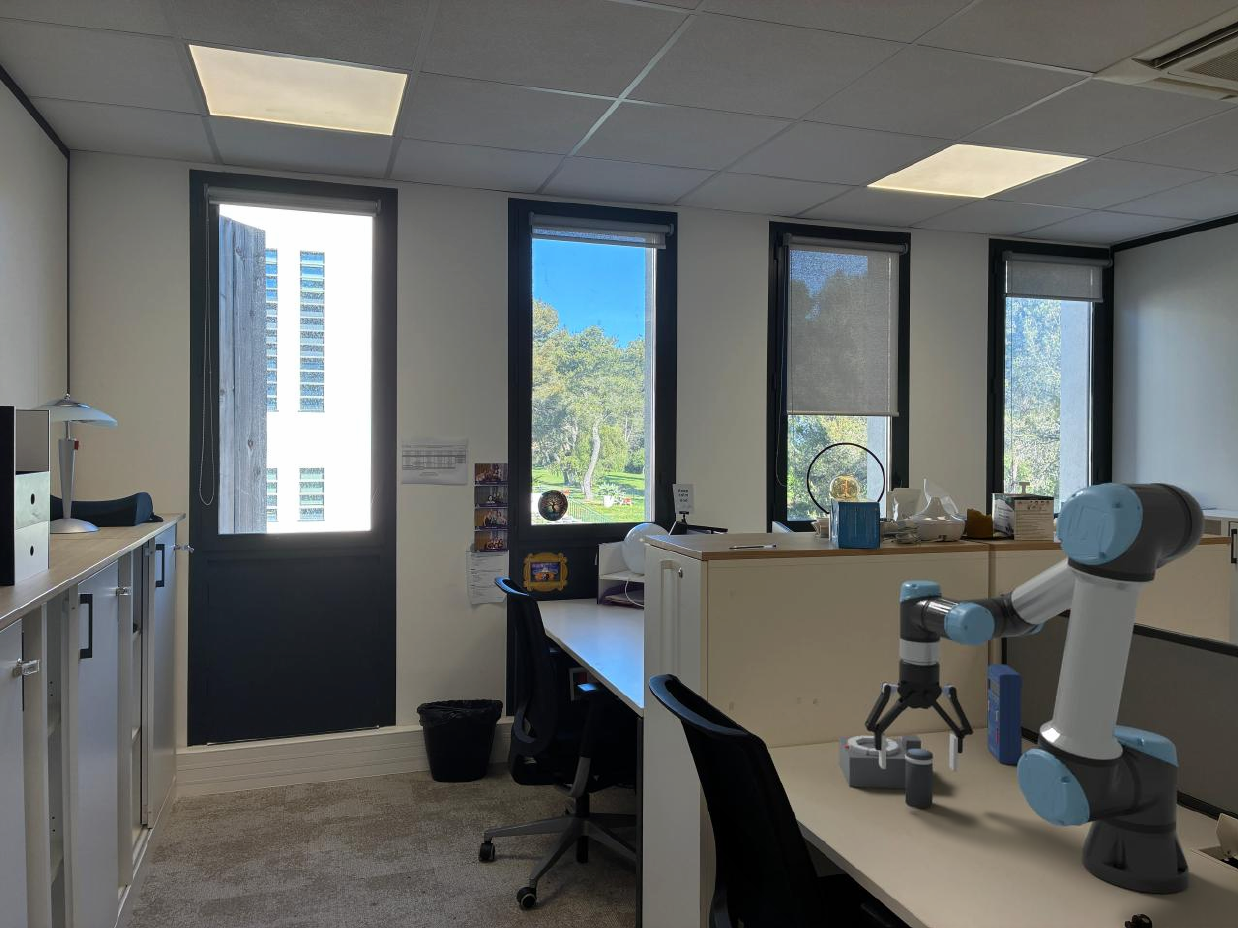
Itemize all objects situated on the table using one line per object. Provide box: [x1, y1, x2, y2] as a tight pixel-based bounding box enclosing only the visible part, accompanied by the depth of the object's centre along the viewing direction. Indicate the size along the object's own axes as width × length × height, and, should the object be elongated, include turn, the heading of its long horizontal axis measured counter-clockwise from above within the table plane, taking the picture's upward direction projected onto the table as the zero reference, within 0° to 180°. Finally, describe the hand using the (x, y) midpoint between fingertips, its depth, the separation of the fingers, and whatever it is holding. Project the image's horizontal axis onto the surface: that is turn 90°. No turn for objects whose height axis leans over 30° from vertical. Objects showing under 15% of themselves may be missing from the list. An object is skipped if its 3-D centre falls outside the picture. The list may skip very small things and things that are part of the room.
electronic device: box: [987, 664, 1023, 766], centre depth 199 cm, size 10×5×20 cm, turn 173°
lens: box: [905, 748, 934, 810], centre depth 173 cm, size 5×5×10 cm
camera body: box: [838, 734, 922, 789], centre depth 187 cm, size 13×16×8 cm
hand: (917, 767), depth 173 cm, fingers open, 13 cm apart
